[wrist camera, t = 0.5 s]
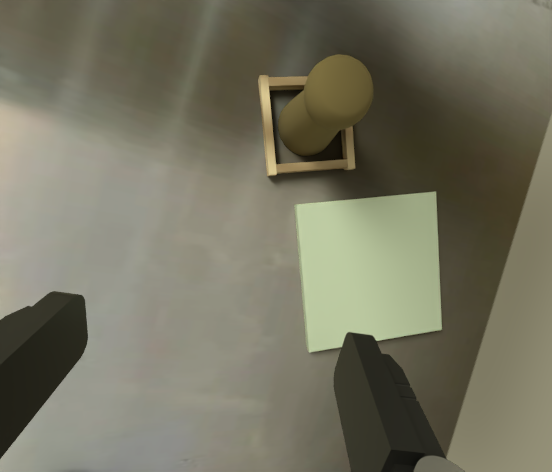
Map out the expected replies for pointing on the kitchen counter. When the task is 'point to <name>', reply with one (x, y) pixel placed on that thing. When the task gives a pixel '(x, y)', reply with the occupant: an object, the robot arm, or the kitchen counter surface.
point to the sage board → (369, 268)
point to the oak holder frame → (273, 168)
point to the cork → (326, 104)
